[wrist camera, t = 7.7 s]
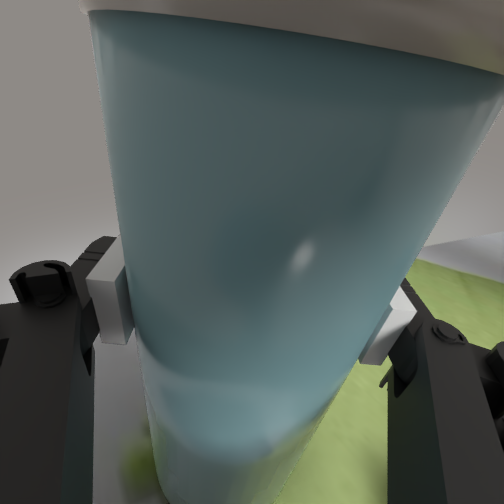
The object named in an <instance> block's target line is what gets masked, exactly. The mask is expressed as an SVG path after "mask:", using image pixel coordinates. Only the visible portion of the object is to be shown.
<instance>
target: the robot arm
mask: <svg viewBox="0 0 504 504" xmlns="http://www.w3.org/2000/svg"><path fill="white" fill-rule="evenodd" d="M9 281H10V283H11V285H12V287H13V289H14V291H15V294H16V296H17V298H18V301H19V302H17V303H9V304H1V305H0V504H92V493H93V432H94V371H95V351H94V347H93V342H94V340H95V338H96V337H97V335H98V333H100V337H101V340H102V343H109V344H121V345H126V344H127V342H128V339H129V337H130V335H131V333H132V330H133V328H134V321H133V315H132V308H131V301H130V295H129V288H128V281H127V275H126V268H125V261H124V255H123V248H122V242H121V235H119V236H118V237H109V236H103V237H101V238H99V239H97V240H96V241H94V242H92V243H91V244H90V245H89V246H88V247H87V249H86V250H85V251H84V253H82V254H81V255H80V256H79V258H78V260H76V261H75V262H74V263H73V264H72V265H71V267H70V266H69V265H68V264H66V263H64V262H61V261H57V260H49V261H48V260H46V261H40V262H35V263H32V264H29V265H27V266H24V267H22V268H21V269H19V270H18V271H16V272H15V273H14V274H13V275H12V276H11V278H10V279H9ZM415 293H416V292H415V290H414V289H413V288H412V286H410V284H409V282H408V281H407V279H406V278H404V279H403V281H402V283H401V285H400V286H399V288H398V290H397V292H396V293H395V295H394V297H393V298H392V300H391V302H390V304H389V305H388V307H387V309H386V311H385V312H384V314H383V316H382V317H381V319H380V321H379V323H378V324H377V326H376V328H375V330H374V331H373V333H372V335H371V336H370V338H369V340H368V342H367V343H366V345H365V347H364V349H363V350H362V352H361V354H360V355H359V357H358V359H359V362H360V364H369V365H381V364H382V363H383V361H384V360H385V358H386V357H387V355H388V356H389V358H390V360H391V362H392V364H393V365H392V366H391V368H390V369H389V370H388V372H387V373H386V375H385V376H384V377H383V379H382V380H381V382H380V385H379V387H381V388H383V386H384V385H385V384H386V382H388V389H387V391H388V504H504V342H500V343H498V344H497V345H496V346H495V347H494V348H493V349H492V350H489V349H486V348H483V347H480V346H477V345H474V344H471V343H469V342H468V341H467V339H466V337H465V336H464V335H463V334H462V333H461V332H460V331H459V330H458V329H456V328H455V327H454V326H452V325H451V324H448V323H446V322H444V321H442V320H438V319H435V318H434V317H433V315H432V314H431V312H430V311H429V310H428V308H427V307H426V306H425V304H424V303H423V301H422V300H421V299H420V297H419V296H418V295H417V294H415Z"/></svg>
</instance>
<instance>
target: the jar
mask: <svg viewBox="0 0 504 504" xmlns="http://www.w3.org/2000/svg"><path fill="white" fill-rule="evenodd" d="M78 3H79V9H80V12H81V13H83V14H85V15H87V16H88V22H89V29H90V35H91V42H92V49H93V55H94V62H95V69H96V76H97V81H98V89H99V95H100V102H101V108H102V115H103V122H104V129H105V135H106V142H107V148H108V155H109V162H110V169H111V175H112V181H113V187H114V195H115V201H116V208H117V215H118V222H119V228H120V235H121V242H122V248H123V255H124V261H125V268H126V275H127V281H128V288H129V295H130V301H131V308H132V315H133V321H134V328H135V335H136V341H137V348H138V354H139V361H140V368H141V374H142V381H143V388H144V394H145V401H146V408H147V414H148V421H149V427H150V434H151V441H152V447H153V454H154V461H155V467H156V473H157V478H158V481H159V484H160V487H161V489H162V491H163V493H164V496H165V498H166V499H167V501H168V502H169V504H273V503H274V501H275V500H276V498H277V497H278V495H279V493H280V492H281V490H282V488H283V487H284V485H285V483H286V481H287V480H288V478H289V476H290V474H291V473H292V471H293V469H294V468H295V466H296V464H297V462H298V461H299V459H300V457H301V456H302V454H303V452H304V450H305V449H306V447H307V445H308V443H309V442H310V440H311V438H312V437H313V435H314V433H315V431H316V430H317V428H318V426H319V424H320V423H321V421H322V419H323V418H324V416H325V414H326V412H327V411H328V409H329V407H330V405H331V404H332V402H333V400H334V399H335V397H336V395H337V393H338V392H339V390H340V388H341V386H342V385H343V383H344V381H345V380H346V378H347V376H348V374H349V373H350V371H351V369H352V368H353V366H354V364H355V362H356V361H357V359H358V357H359V355H360V354H361V352H362V350H363V349H364V347H365V345H366V343H367V342H368V340H369V338H370V336H371V335H372V333H373V331H374V330H375V328H376V326H377V324H378V323H379V321H380V319H381V317H382V316H383V314H384V312H385V311H386V309H387V307H388V305H389V304H390V302H391V300H392V298H393V297H394V295H395V293H396V292H397V290H398V288H399V286H400V285H401V283H402V281H403V279H404V278H405V276H406V274H407V273H408V271H409V269H410V267H411V266H412V264H413V262H414V261H415V259H416V257H417V255H418V254H419V252H420V250H421V248H422V247H423V245H424V243H425V241H426V240H427V238H428V236H429V235H430V233H431V231H432V229H433V228H434V226H435V224H436V223H437V221H438V219H439V217H440V216H441V214H442V212H443V210H444V208H445V207H446V205H447V204H448V202H449V200H450V198H451V197H452V195H453V193H454V191H455V190H456V188H457V186H458V184H459V183H460V181H461V179H462V177H463V176H464V174H465V172H466V171H467V169H468V167H469V166H470V164H471V162H472V160H473V159H474V157H475V155H476V154H477V152H478V150H479V148H480V146H481V145H482V143H483V141H484V140H485V138H486V136H487V134H488V133H489V131H490V129H491V128H492V126H493V124H494V122H495V121H496V119H497V117H498V115H499V114H500V112H501V110H502V109H503V107H504V0H78Z"/></svg>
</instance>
